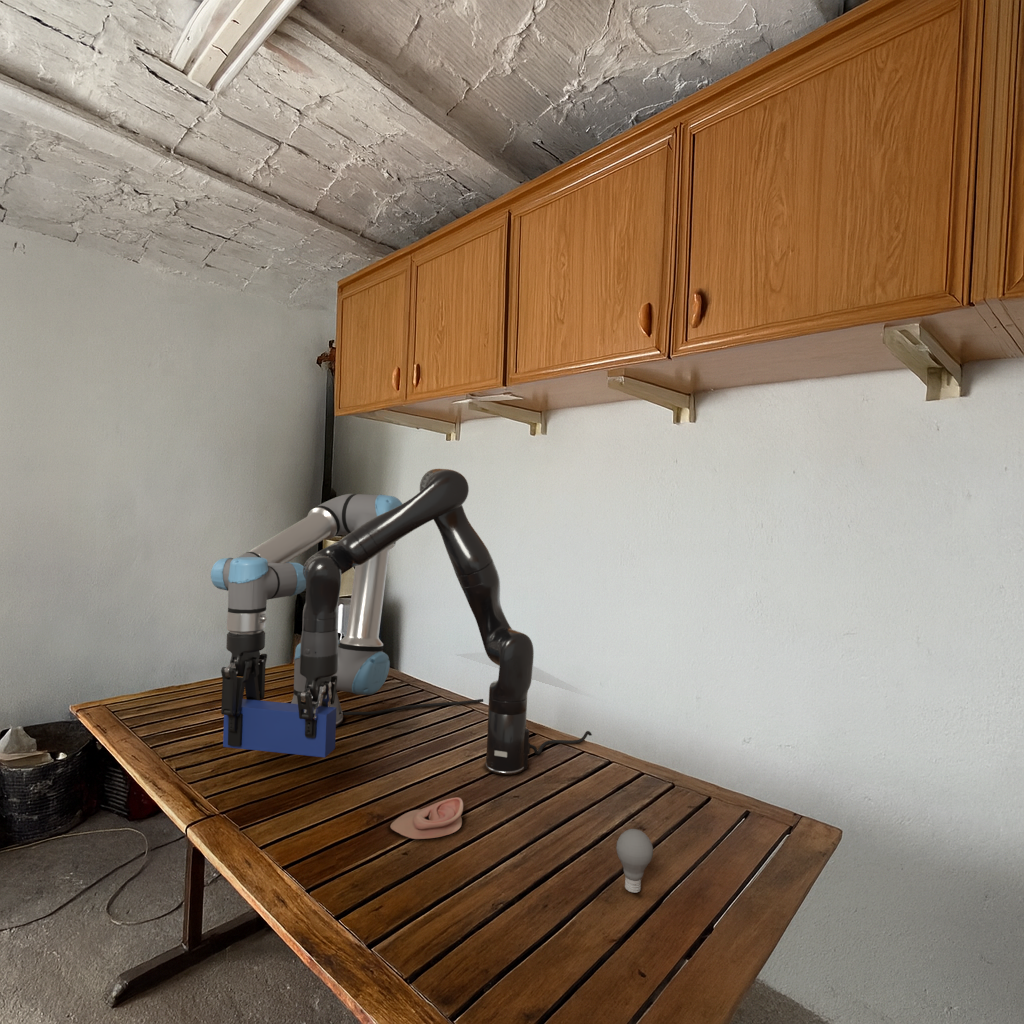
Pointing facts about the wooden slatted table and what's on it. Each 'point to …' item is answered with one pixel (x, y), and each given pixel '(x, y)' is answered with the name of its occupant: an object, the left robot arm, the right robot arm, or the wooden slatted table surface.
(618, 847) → the light bulb
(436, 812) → the anatomical model
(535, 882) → the wooden slatted table surface
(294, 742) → the bar
